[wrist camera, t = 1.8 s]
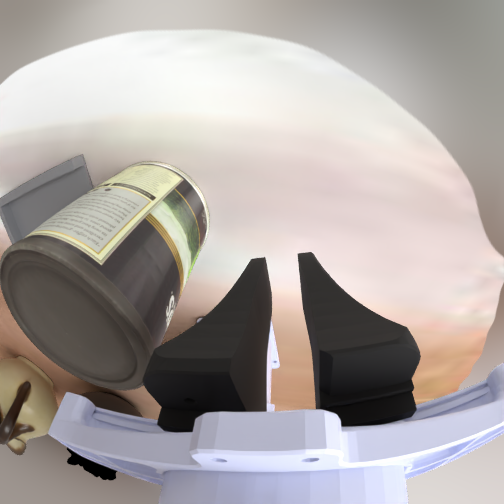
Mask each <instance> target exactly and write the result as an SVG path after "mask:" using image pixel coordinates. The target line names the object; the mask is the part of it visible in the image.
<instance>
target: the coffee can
mask: <svg viewBox="0 0 504 504" xmlns="http://www.w3.org/2000/svg"><path fill="white" fill-rule="evenodd" d="M208 231H209V211H208V208H207V204H206V201H205V199H204V197H203V195H202V193H201V191H200V190H199V188H198V187H197V185H196V184H195V183H194V182H193V181H192V180H191V179H190V178H189V177H188V176H187V175H186V174H185V173H183V172H182V171H180V170H179V169H177V168H175V167H173V166H171V165H168V164H165V163H161V162H152V161H149V162H140V163H137V164H134V165H131V166H129V167H127V168H126V169H124V170H123V171H122V172H121V173H119V174H117V175H115V176H114V177H112V178H110V179H109V180H107V181H105V182H103V183H102V184H100V185H99V186H97V187H95V188H94V189H92V190H91V191H89V192H87V193H86V194H84V195H83V196H81V197H80V198H78V199H77V200H75V201H74V202H72V203H71V204H69V205H68V206H66V207H65V208H63V209H62V210H61V211H59V212H58V213H56V214H55V215H54V216H52V217H51V218H49V219H48V220H47V221H45V222H44V223H43V224H41V225H40V226H39V227H37V228H36V229H35V230H34V231H32V232H31V233H30V234H29V235H27V236H26V237H25V238H24V239H21V240H19V241H17V242H16V243H14V244H13V245H11V246H10V247H9V248H8V249H7V250H6V251H5V252H4V253H3V255H2V257H1V260H0V285H1V290H2V293H3V296H4V299H5V301H6V303H7V306H8V308H9V310H10V312H11V314H12V315H13V317H14V319H15V320H16V322H17V324H18V325H19V326H20V328H21V329H22V331H23V332H24V333H25V335H26V336H27V337H28V338H29V339H30V340H31V342H32V343H33V344H34V345H35V346H36V347H37V348H38V349H39V350H40V351H41V352H42V353H43V354H45V355H46V356H47V357H48V358H49V359H50V360H52V361H53V362H54V363H56V364H57V365H58V366H60V367H61V368H63V369H64V370H66V371H67V372H69V373H71V374H72V375H74V376H76V377H78V378H80V379H82V380H84V381H87V382H89V383H92V384H94V385H97V386H100V387H104V388H109V389H115V390H133V389H137V388H140V387H142V386H143V380H142V379H143V376H144V374H145V371H146V368H147V365H148V363H149V360H150V357H151V355H152V353H153V351H154V349H155V348H157V347H159V346H161V343H162V340H163V338H164V335H165V333H166V330H167V328H168V326H169V323H170V321H171V318H172V316H173V313H174V311H175V308H176V306H177V303H178V301H179V298H180V296H181V293H182V291H183V289H184V286H185V284H186V282H187V279H188V277H189V275H190V272H191V270H192V268H193V265H194V263H195V261H196V259H197V257H198V254H199V252H200V250H201V249H202V247H203V245H204V243H205V241H206V239H207V235H208Z"/></svg>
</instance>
